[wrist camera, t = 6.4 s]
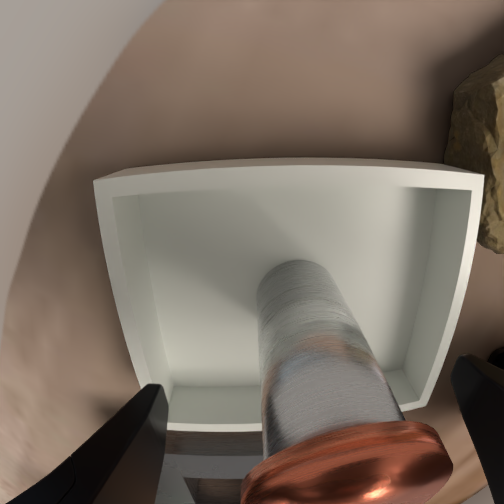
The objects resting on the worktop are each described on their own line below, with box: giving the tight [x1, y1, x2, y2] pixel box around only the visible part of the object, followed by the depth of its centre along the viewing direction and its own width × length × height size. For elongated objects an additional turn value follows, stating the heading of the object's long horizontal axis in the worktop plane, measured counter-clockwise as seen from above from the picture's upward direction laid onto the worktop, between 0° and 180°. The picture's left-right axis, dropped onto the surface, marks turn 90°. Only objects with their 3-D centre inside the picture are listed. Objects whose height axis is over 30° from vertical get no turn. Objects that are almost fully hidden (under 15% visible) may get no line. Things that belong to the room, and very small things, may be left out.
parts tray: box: [93, 157, 484, 432], centre depth 12 cm, size 13×11×3 cm
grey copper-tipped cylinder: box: [241, 260, 453, 504], centre depth 9 cm, size 4×4×9 cm
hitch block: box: [155, 430, 263, 504], centre depth 17 cm, size 12×10×3 cm
